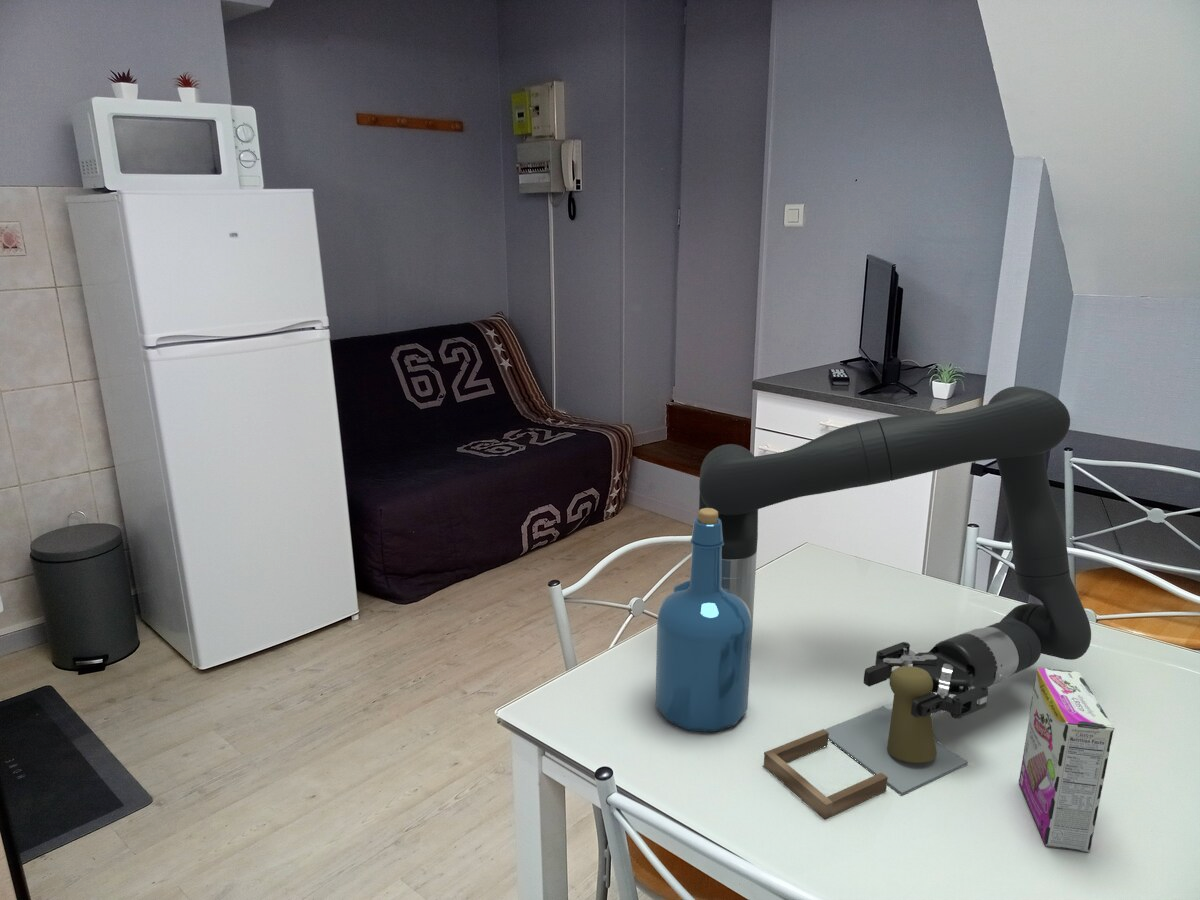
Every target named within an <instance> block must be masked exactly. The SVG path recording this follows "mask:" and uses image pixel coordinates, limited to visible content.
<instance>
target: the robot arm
mask: <svg viewBox="0 0 1200 900" xmlns="http://www.w3.org/2000/svg"><path fill="white" fill-rule="evenodd" d="M1070 426H1071V416H1070V413H1069V410H1068V408H1067V407H1066V405H1065V404H1064V402H1062V401H1061V400H1060V399H1059V398H1057V397H1056V396H1054V395H1053V394H1051V393H1050V392H1047V391H1044V390H1041V389H1037V388H1032V387H1028V386H1009V387H1007V388H1004V389H1002V390H1000V391H998V392H997V393H995V394H994V395H993V397H991V399H989V401H988V403H987V404H984V405H980V406H976V407H974V408H970V409H964V410H961V411H955V412H946V413H945V412H944V413H927V414H926V413H923V414H908V415H896V416H895V415H894V416H890V417H889V416H887V417H881V418H876V419H871V420H867V421H861V422H857V423H852V424H849V425H845V426H842V427H839V428H837V429H834V430H831V431H829V432H826V433H824V434H822V435H820V436H818V437H816V438H814V439H812V440H809V441H808V442H806V443H803V444H802V445H800V446H797V447H794V448H791V449H789V450H785V451H779V452H776V453H769V454H768V453H767V454H764V455H754V454H753V453H752V452H751V451H750V450H749V449H747V448H746V447H744V446H742V445H738V444H733V443H728V444H722V445H719V446H716V447H715V448H712V450H710V451H709V452H708V454H707V455H705V457H704V459H703V461H702V464H701V466H700V471H699V473H700V474H699V483H698V485H699V486H698V487H699V494H698V495H699V497H698V498H699V499H698V500H699V501H698V512H699V511H700V509H703V508H713V509H715V510H717V511H718V518H719V519H720V520H721V522H722V534H723V541H724V545H723V546H722V580H721V585H722V587H723V588H725V589H728V590H730V591H731V592H733V593H734V594H735V595H737V596H738V597H739V598H741V599H742V600H743V601H744V602H745V603H746V605H747V606H748V609H749V611H750V615H751V621H752V628H753V623H754V607H755V606H754V605H755V589H756V574H757V573H756V572H757V555H758V554H757V550H758V541H759V540H758V538H759V537H758V536H759V535H758V534H759V532H758V530H759V526H758V525H759V510H761V509H763V508H767V507H770V506H773V505H776V504H780V503H784V502H785V501H790V500H793V499H799V498H802V497H808V496H814V495H820V494H827V493H833V492H838V491H844V490H849V489H853V488H860V487H861V488H862V487H866V486H873V485H877V484H881V483H887V482H890V481H891V482H893V481H897V480H902V479H904V478H908V477H913V476H919V475H923V474H927V473H931V472H936V471H938V470H942V469H946V468H948V467H949V468H950V467H953V466H957V465H960V464H966V463H973V462H978V461H979V462H980V461H988V460H989V461H990V460H995V461H996V463H997V466H998V470H999V475H1000V479H1001V480H1000V481H1001V484H1002V488H1003V489H1002V490H1003V492H1004V498H1005V503H1006V510H1007V519H1008V523H1009V533H1010V539H1011V540H1010V541H1011V549H1012V558H1013V564H1014V572H1015V579H1016V584H1017V586H1018V587H1019V589H1020V590H1021V591H1022V592H1024V593H1026V594H1028V595H1030V596H1032V597H1034V598H1036V599H1038V600H1039V601H1040V602H1041V603H1042V604H1039V603H1025V604H1020V605H1017V606H1015V607H1014V608H1012V609H1011V610H1010V611H1009V612H1008V613H1007V614H1006V615H1005V616H1004V617H1002V619H1001V620H1000V621H999V622H996V623H993V624H991V625H988V626H985V627H982V628H974V629H972V630H971V629H970V630H968V631H966V632H964V633H961V634H958V635H955V636H953V637H949V638H947V639H944V640H942V641H939V642H938V643H936V644H935V645H934V646H933V647H932V648H931V649H930V650H929V651H926V652H918V653H917V652H915V651H913V650H911V644H910V643H909V642H906V641H903V642H898V643H896V644H893V645H891V646H889V647H886V648H883V649H881V650H878V651H876V652H875V653H876V655H875V663H874V665H871V666H870V667H866V668H865V669H864V673H863V684H864V685H865V686H867V687H872V686H874V685H877V684H879V683H882V682H885V681H887V680H889V679H890V676H891V673H892V672H893V668H894V667H902V666H911V665H912V666H913V667H918V668H921V669H924V670H925V671H927V672H928V673H929V675H930V676H931V678H932V681H933V688H932V692H931V693H930V694H927V695H925V696H923V697H920V698H918V699H915V700H914V701H913V702H912V708H911V715H913V716H914V717H916V718H918V717H920V716H921V717H925V716H928V715H930V714H931V715H933V714H935V713H937V712H938V713H941V714H942V713H945V712H947V713H950V714H949V715H950V716H951V718H953V719H958V720H959V719H961V718H963V717H965V716H968V715H970V714H973V713H976V712H978V711H980V710H982V709H984V708H986V707H987V702H988V696H989V687H991V686H994V685H996V684H999V683H1001V682H1003V681H1004V680H1006V679H1007V678H1008V677H1010V676H1012V675H1014V674H1017V673H1019V672H1022V671H1023V670H1026V669H1029V668H1030V667H1032V666H1033V665H1035V664H1036V663H1037V661H1038V660H1039V659H1040V657H1041V655H1047V656H1050V657H1054V658H1058V659H1062V660H1070V661H1073V660H1077V659H1080V658H1081V657H1083V656H1085V654H1086V653H1087V651H1088V650H1089V648H1090V645H1091V641H1092V628H1091V623H1090V620H1089V617H1088V615H1087V613H1086V611H1085V608H1084V606H1083V603H1082V602H1081V599H1080V596H1079V594H1078V592H1077V590H1076V587H1075V585H1074V583H1073V581H1072V577H1071V570H1070V563H1069V562H1070V561H1069V554H1068V547H1067V541H1066V536H1065V532H1064V527H1063V523H1062V519H1061V517H1060V514H1059V511H1058V508H1057V505H1056V502H1055V500H1054V497H1053V493H1052V489H1051V485H1050V482H1049V476H1048V475H1049V474H1048V469H1047V461H1046V452H1049V451H1051V450H1052V449H1055V448H1056V447H1057V446H1058V445H1059V444H1060V443H1061V442H1062V441H1063V440H1064V439H1065V438H1066V436H1067V434H1068V432H1069V429H1070ZM752 640H753V638H752V639H751V645H752V644H753V643H752ZM950 695H953V697H951V696H950Z"/></svg>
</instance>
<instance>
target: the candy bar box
mask: <svg viewBox="0 0 1200 900" xmlns="http://www.w3.org/2000/svg"><path fill="white" fill-rule="evenodd" d="M1032 690H1033V691H1032V698H1031V701H1030V702H1031V704H1030V709H1029V710H1030V711H1029V714H1028V724H1027V728H1026V729H1027V730H1026V733H1025V734H1026V735H1025V743H1024V749H1023V754H1022V761H1021V768H1020V772H1019V778H1018V784H1019V787H1020V789H1021V791H1022V793H1023V795H1024V798H1025V801H1026V803H1027V804H1028V807H1029V810H1030V812H1031V814H1032V817H1033V819H1034V822H1035V823H1036V826H1037V830H1038V831H1039V834H1040V836H1041V839H1042V841H1043V844H1044V846H1045V847H1049V848H1052V849H1053V848H1054V849H1060V850H1072V851H1077V852H1085V853H1090V852H1091V848H1092V847H1091V846H1092V841H1093V836H1094V831H1095V827H1096V821H1097V818H1098V817H1097V816H1098V812H1099V807H1100V801H1101V796H1102V790H1103V787H1104V782H1105V781H1104V780H1105V777H1106V772H1107V767H1108V761H1109V756H1110V749H1111V745H1112V739H1113V734H1114V730H1115V727H1114V725H1113V724H1112V723H1111V720H1110V719H1109V717H1108V716H1107V714H1106V713H1105V711H1104V709H1103V707H1102V706H1101V705H1100V703H1099V702H1098V700H1097V698H1096V696H1095V695H1094V693H1093V691H1092V690H1091V688H1090V687H1089V685H1088V684H1087V682H1086V680H1085V678H1083V676H1082V674H1081V673H1080V671H1071V670H1063V669H1051V668H1048V667H1039V668H1036V671H1035V677H1034V683H1033V689H1032Z"/></svg>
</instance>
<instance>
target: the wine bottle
mask: <svg viewBox="0 0 1200 900" xmlns="http://www.w3.org/2000/svg"><path fill="white" fill-rule="evenodd" d="M693 520H694V521H693V525H692V526H693V527H692V533H691V538H690V544H691V561H690V574H689V575H690V577H689V580H687V581H684V582H682V583H680V584H678V585H675V586H674V587H673V590H672V593H670V594H669V595H667V596H666V597H665V598H663V600H662V601H661V602H660V604H659V606H658V609H657V621H656V664H655V665H656V668H655V707H656V708H657V710H658V712H660V713H661V715H662V716H663V717H664V718H665V720H667V722H668V723H670V724H673V725H675V726H678V727H681V728H683V729H685V730H687V731H694V732H706V733H707V732H709V733H710V732H712V733H713V732H714V733H715V732H718V731H721V730H724V729H728V728H731V727H734V726H735V725H736V724H737V723H739V721H741V719H742V718H743V717H744V715H745V714H746V713H747V711H748V708H749V707H748V705H749V691H750V690H749V687H750V686H749V685H750V672H751V656H752V655H751V654H752V653H751V651H752V644H751V639H752V640H753V627H752V621H751V615H750V611H749V609H748V606H747V605H746V603H745V602H744V601H743V600H742V599H741V598H739V597H738V596H737V595H735V594H734V593H733V592H731V591H730V590H728V589H725V588H723V587H722V585H721V580H722V546H723V545H724V541H723V534H722V522H721V520H720V519H719V518H718V511H717V510H715V509H713V508H703V509H700V511H699V510H698V514H697V517H696V518H694V519H693Z"/></svg>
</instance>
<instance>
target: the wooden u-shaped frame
mask: <svg viewBox="0 0 1200 900" xmlns="http://www.w3.org/2000/svg"><path fill="white" fill-rule="evenodd" d="M824 729H825V728H822V729H820V730H817V731H815V732H812V733H810V734H807V735H804V736H802V737H799V738H797V739H795V740H792V741H790V742H786V743H784V744H782V745H780V746H777V747H775V748H771V749H768V750H767V751H764V753H763V754H764V755H763V766H764V768H766V769H767V770H768V771H769V770H770V771H771V772H772V773H771V772H770V771H769V772H770V773H771V774H772V775H774V776H775V777H776V778H777V779H778V780H779V781H781V783H783V784H784V785H785V786H786V787H787V788H788V789H790V791H792V792H793V793H794V794H795V795H797V796H798V797H799V798H800V799H801V800H803V802H804V803H806V804H807V805H808V806H809V807H810V808H811V809H813V810H814V811H815V812H816V813H817V814H818V815H819V816H820V817H822V818H823V819H824V820H827V819H829V818H831V817H834V816H835V815H837V814H840V813H842V812H844V811H846V810H849V809H850V808H853V807H855V806H857V805H859V804H861V803H864V802H865V801H867V800H870V799H872V798H874V797H877V796H878V795H880V794H883V793H884V792H887V787H888V785H887V779H888V777H887V776H886V775H884V774H883V773H882V772H881V773H879V774H877V775H873V776H870V777H868V778H866V779H863V780H862V781H859V782H857V783H854V784H852V785H850V786H848V787H846V788H843V789H841V790H838V791H837V792H835V793H832V794H830V795H828V796H826V795H825V794H824V793H823V792H821V791H820V790H819V789H818V788H816V786H814V785H813V784H812V783H810V782H809V781H808V780H807V779H806V778H804V776H802V775H801V774H800V773H798V771H796V770H795V769H794V768H793V767H792V766H790V765H789V764H788V763H790V762H793V761H794V759H795V760H797V759H800V758H802V757H804V756H806V754H807V755H809V754H812V753H814V752H816V751H815V750H817V749H819V750H821V749H823V748H822V747H824V746H826V747H828V746H827V745H829V744H828V743H829V740H828V736H829V733H828V732H827V731H825V730H824ZM820 748H821V749H820ZM824 748H825V747H824ZM813 751H814V752H813ZM817 751H818V750H817ZM811 752H812V753H811ZM808 753H809V754H808ZM801 756H802V757H801ZM799 757H800V758H799ZM796 758H797V759H796ZM789 761H790V762H789Z"/></svg>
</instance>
